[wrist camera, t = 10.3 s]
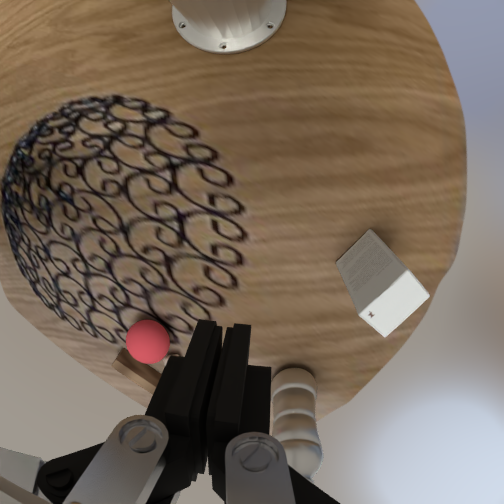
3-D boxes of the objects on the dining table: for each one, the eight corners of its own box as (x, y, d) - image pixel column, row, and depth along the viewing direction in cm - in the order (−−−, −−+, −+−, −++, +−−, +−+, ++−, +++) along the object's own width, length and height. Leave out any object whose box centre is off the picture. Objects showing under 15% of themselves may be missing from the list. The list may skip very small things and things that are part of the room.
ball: (123, 366, 39) (138, 338, 45) (163, 377, 39) (176, 346, 44) (115, 335, 36) (133, 307, 42) (158, 345, 36) (173, 315, 41)
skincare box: (356, 283, 38) (383, 340, 27) (334, 261, 38) (356, 315, 27) (391, 249, 37) (432, 296, 25) (370, 226, 36) (407, 267, 25)
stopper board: (118, 354, 46) (111, 366, 43) (123, 347, 45) (116, 359, 42) (200, 407, 48) (196, 420, 46) (206, 402, 48) (203, 415, 45)
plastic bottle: (309, 394, 46) (318, 507, 27) (266, 389, 46) (260, 504, 27) (320, 364, 43) (337, 484, 25) (274, 358, 43) (271, 482, 25)
